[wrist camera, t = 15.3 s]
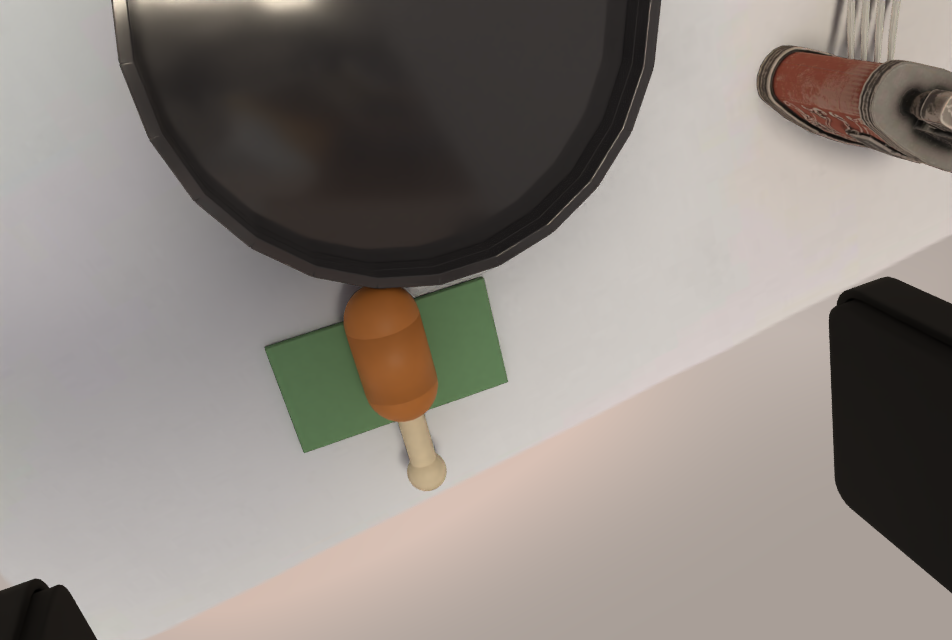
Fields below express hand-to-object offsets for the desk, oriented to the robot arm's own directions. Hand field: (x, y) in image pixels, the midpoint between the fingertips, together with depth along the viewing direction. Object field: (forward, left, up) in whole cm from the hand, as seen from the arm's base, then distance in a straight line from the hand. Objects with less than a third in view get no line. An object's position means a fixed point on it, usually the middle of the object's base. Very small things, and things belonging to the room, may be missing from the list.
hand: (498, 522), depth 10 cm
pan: (+5, +3, -26) cm, 27 cm away
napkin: (+1, -11, -26) cm, 29 cm away
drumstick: (+1, -11, -26) cm, 28 cm away
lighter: (+24, -5, -26) cm, 36 cm away
